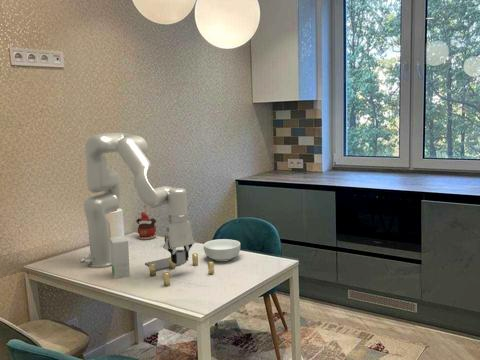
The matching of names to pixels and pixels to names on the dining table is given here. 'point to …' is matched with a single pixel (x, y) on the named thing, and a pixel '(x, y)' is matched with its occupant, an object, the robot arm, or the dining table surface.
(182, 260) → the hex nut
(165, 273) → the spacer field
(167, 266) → the mat
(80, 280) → the dining table surface
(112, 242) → the skincare box
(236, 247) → the cereal bowl
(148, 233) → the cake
